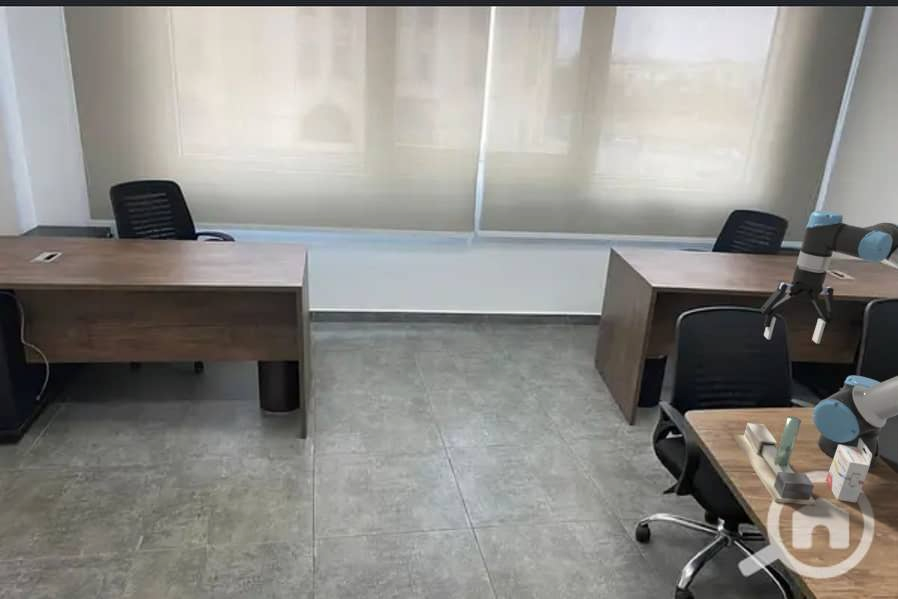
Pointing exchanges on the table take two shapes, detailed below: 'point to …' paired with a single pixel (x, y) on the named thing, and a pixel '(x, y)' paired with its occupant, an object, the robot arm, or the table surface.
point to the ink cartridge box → (849, 471)
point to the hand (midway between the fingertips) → (791, 339)
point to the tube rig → (779, 485)
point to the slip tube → (782, 447)
